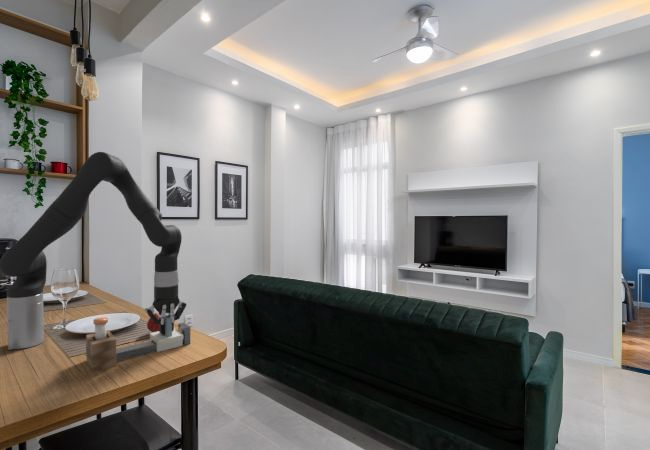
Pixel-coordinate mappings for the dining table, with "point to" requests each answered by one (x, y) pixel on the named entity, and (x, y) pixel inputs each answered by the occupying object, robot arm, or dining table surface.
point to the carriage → (167, 337)
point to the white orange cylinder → (100, 328)
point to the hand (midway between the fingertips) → (166, 333)
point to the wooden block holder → (101, 351)
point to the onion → (153, 324)
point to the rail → (149, 345)
